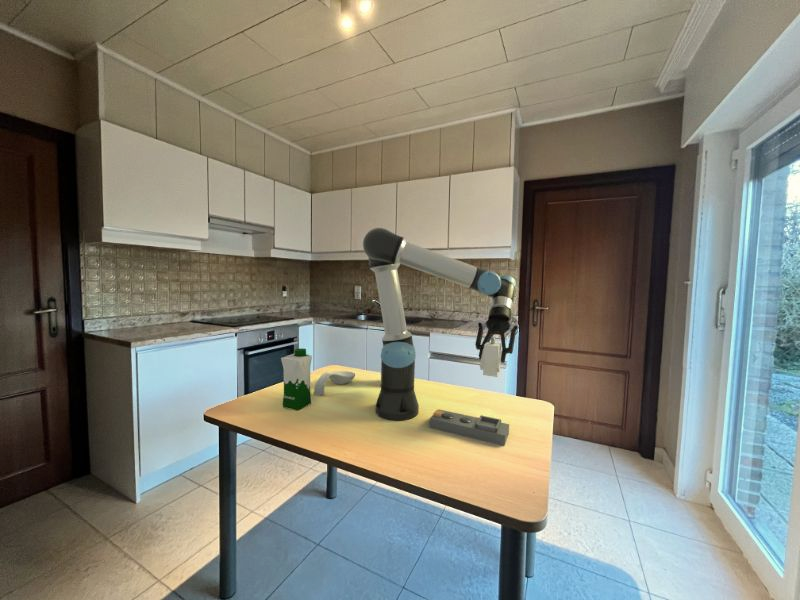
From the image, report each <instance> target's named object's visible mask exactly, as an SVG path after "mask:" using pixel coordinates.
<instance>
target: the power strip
mask: <svg viewBox="0 0 800 600" xmlns="http://www.w3.org/2000/svg"><path fill="white" fill-rule="evenodd" d="M429 428H430V429H434V430H439V431H443V432H447V433H451V434H455V435H459V436H463V437H467V438H473V439H476V440H479V441H483V442H488V443H492V444H496V445H500V446H505V445H506V443H507V439H508V437H509V434H510V423H505V422H502V419H501V418H500V419H499V418H497V417H496V418H495V417H490V416H485V415H482V414H481V415H480V416H479V417H476V416H472V415H466V414H463V413H458V412H453V411H449V410H443V409H436V410H435V411H434V412H433V413H432V415H431V417H429Z"/></svg>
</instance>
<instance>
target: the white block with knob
mask: <svg viewBox="0 0 800 600" xmlns="http://www.w3.org/2000/svg"><path fill="white" fill-rule="evenodd" d="M500 350H502V343H501V342H496V338H495V337H492V338H491V340H490V342H487V343H486V344H484V365H483V370H482V375H483V376H487V377H494V378H498V377H499V375H500V374H501V371H500V372H497V368H496V367H497V361H498V356H499V351H500Z"/></svg>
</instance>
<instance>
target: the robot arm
mask: <svg viewBox="0 0 800 600" xmlns="http://www.w3.org/2000/svg"><path fill="white" fill-rule="evenodd" d="M362 246H363V251H364V254H366V256H367V257H368V264H369V269H370V270H371V271H372V272H373V273H374V275H375V280H376V281H375V282H376V286H377V292H378V293H377V295H378V300H379V305H380V306H379V307H380V312H381V316H382V323H383V324H382V325H383V328H384V329H383V330H384V335H383V336H382V338H381V339H382V348H381V352H380V359H381V365H380V368H381V369H380V390H379V393H378V397H377V400H376V402H375V410H374V411H375V414H376V415H377V416H379V417H380V418H382V419H385V420H390V421H406V420H410V419H412V418H415V417H416V416H418V415H419V410H420V409H419V408H420V407H419V402H418V399H417V395H416V392H415V373H416V372H415V367H416V366H415V364H416V362H415V361H416V348H415V346H414V341H413V335H412V333H411V332H410V331H408V329H407V322H406V316H405V310H404V309H405V308H404V303H403V296H402V292H401V290H402V289H401V285H400V284H401V283H400V278H399V272H398V269H399V267H400V265H403V266H406V267H409V268H413V269H415V270H418V271H419V272H420V271H421V272H424V273H426V274H428V275H432V276H434V277H436V278H440V279H443V280H445V281H449V282H451V283H454V284H457V285H458V286H459V285H460V286H462V287H465V288H468V289H469V290H473V291H475V292H477V293H480V294H482V295H485V296H488V297H490V298H492V300H491V304H490V308H489V314H488V318H487V320H486V322H483V323H482V322H477V325H478V330H477V334H476V338H475V348H476V350H477V351H479V353H478V359H479V360H480V363H479V368H480V370H482V371H483V365H484V344H486V343H487V342H491V338H494V335H498V336H500V341H501V342H500V343H501V350H500V351H499V356H498V361H497V367H496V368H497V372H500V373H501V367H502V363H505V362H506V358H507V354H509V355H510V354H511V355H512V354H513V351H514V348H515V347H514V346H515V341H516V335H517V334H518V332H519V329H518V327H519V326H518V325H512V323H511V321H512V320H511V319H512V314H513V308H514V302H515V297H516V293H517V281H516V279H515V278H514V277H512V276H510V275H500V276H499V275H498V274H497V273H496V272H494V271H491V270H486V269H483V268H481V267H477V266H475V265H472V264H470V263H466V262H464V261H461V260H458V259H456V258H453V257H450V256H448V255H445V254H441V253H438V252H436V251H433V250H430V249H427V248H424V247H422V246H419V245H417V244H414V243H410V242H408V241H407V239H406V238H405V237H403V236H400V235H399V234H396V233H394V232H392V231H390V230H389V229H386V228H384V227H383V228H382V227H375V228H372V229H371V230H369V231H368V232H367V233H366V234H365V236H364V237H363V241H362ZM486 328H487V332H486V335H485V337H484V339H483V336H484V331H485V329H486ZM509 330H510V335H509V336H510V337H509V342H508V347H507V345H506V336H505V333H507V332H508V331H509ZM482 339H483V340H482Z"/></svg>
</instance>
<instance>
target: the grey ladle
mask: <svg viewBox="0 0 800 600" xmlns="http://www.w3.org/2000/svg"><path fill="white" fill-rule="evenodd" d="M355 377H356V373H355V372H353V371H347V370H337V371H329V372H324V373H322V374H321V375H320V377H319V378H318V379H317V381H316V384H315V386H314V390H313V395H317V396H325V385H326V382H327V380H328V378H329V380H331V382H332V383H333V384H335V385H347V384H348V383H350V382H352V380H353V379H355Z"/></svg>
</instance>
